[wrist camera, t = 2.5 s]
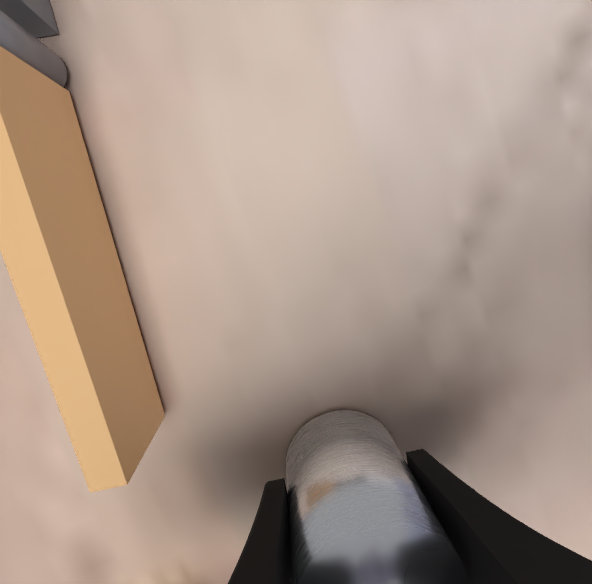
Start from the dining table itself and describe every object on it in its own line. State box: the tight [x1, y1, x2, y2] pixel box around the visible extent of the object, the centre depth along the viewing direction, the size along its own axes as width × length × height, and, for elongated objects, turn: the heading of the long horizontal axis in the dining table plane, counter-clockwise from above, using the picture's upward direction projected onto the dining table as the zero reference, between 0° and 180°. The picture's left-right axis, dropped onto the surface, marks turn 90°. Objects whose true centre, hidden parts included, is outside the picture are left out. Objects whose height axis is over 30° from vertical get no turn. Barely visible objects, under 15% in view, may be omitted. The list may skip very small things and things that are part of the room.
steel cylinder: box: [286, 410, 468, 584], centre depth 11 cm, size 4×4×5 cm
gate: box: [0, 10, 165, 492], centre depth 9 cm, size 12×1×4 cm, turn 10°
